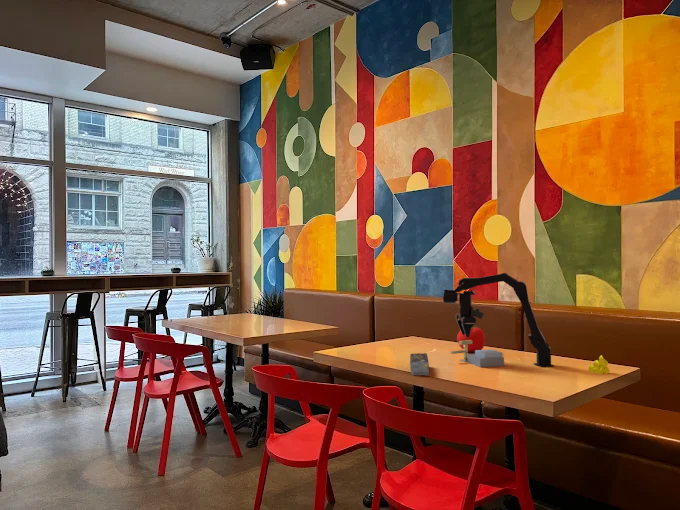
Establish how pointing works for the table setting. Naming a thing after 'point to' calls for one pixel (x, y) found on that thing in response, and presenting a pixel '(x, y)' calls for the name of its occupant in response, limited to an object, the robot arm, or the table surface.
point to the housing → (484, 361)
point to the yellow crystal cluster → (599, 366)
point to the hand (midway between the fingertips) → (465, 336)
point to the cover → (488, 353)
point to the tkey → (464, 348)
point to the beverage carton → (419, 364)
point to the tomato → (473, 339)
